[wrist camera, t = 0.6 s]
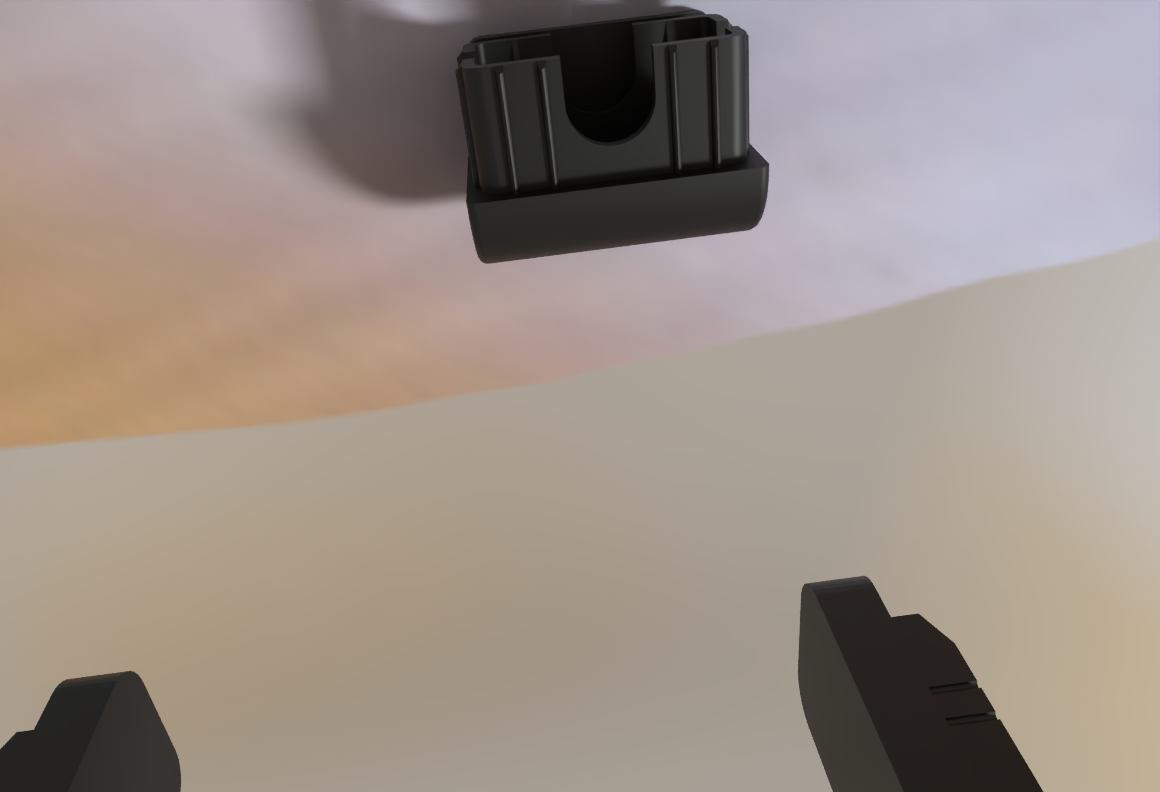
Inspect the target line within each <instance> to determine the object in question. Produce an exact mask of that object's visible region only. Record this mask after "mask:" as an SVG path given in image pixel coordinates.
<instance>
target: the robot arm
mask: <svg viewBox="0 0 1160 792" xmlns="http://www.w3.org/2000/svg"><path fill="white" fill-rule="evenodd" d="M799 636H800V637H799V660H798V680H799V688H800V695H801V701H802V705H803V709H804V713H805V717H806V720H807V723H808V726H809V729H810V731H811V734H812V737H813V739H814V742H815V745H816V747H817V750H818V753H819V755H820V758H821V761H822V764H823V766H824V769H825V771H826V774H827V777H828V780H829V782H830V785H831V788H832V790H833V792H1043V791H1042V789H1041V787H1040V785H1039V784H1038V782H1037V780H1036V779H1035V777H1034V776H1033V774H1032V772H1031V770H1030V769H1029V767H1028V765H1027V764H1026V762H1025V760H1024V759H1023V757H1022V755H1021V754H1020V752H1019V750H1018V749H1017V747H1016V745H1015V743H1014V742H1013V740H1012V738H1011V737H1010V735H1009V733H1008V732H1007V730H1006V728H1005V727H1004V725H1003V723H1002V722H1001V720H1000V719H999V720H997V718H996V715H995V710H994V708H993V707H992V705H991V703H990V702H989V700H988V698H987V697H986V695H985V693H984V692H983V690H982V688H978V685H977V680H976V678H975V677H974V675H973V673H972V672H971V670H970V668H969V666H968V665H967V663H966V661H965V660H964V658H963V656H962V655H961V653H960V651H959V650H958V648H957V647H956V645H955V643H954V642H952V641H951V640H950V639H949V638H948V637H946V636H945V635H944V634H943V633H941V632H940V631H939V630H938V629H937V628H935V627H934V626H933V625H932V624H930V623H929V622H928V621H927V620H926V619H924V618H923V617H922V616H921V615H919V614H912V615H905V616H897V617H890V615H889V613H888V611H887V609H886V607H885V605H884V603H883V602H882V600H881V598H880V596H879V594H878V592H877V590H876V589H875V587H874V585H873V583H872V582H871V581H870V579H869V578H867V577H866V576H860V577H853V578H845V579H837V580H830V581H822V582H815V583H807V584H804V586H803V588H802V592H801V611H800V635H799ZM180 788H181V773H180V764H179V759H178V756H177V753H176V751H175V748H174V746H173V745H172V742H171V740H170V738H169V736H168V734H167V731H166V729H165V727H164V725H163V723H162V722H161V719H160V717H159V715H158V712H157V710H156V708H155V706H154V704H153V702H152V700H151V698H150V696H149V694H148V691H147V689H146V687H145V685H144V683H143V681H142V679H141V678H140V677H139V675H138V674H136V673H135V672H132V671H127V672H120V673H112V674H104V675H97V676H89V677H82V678H75V679H67V680H65V681H63V682H61V683H60V684H59V685H58V686H57V687H56V689H55V690H54V692H53V693H52V695H51V697H50V700H49V701H48V703H47V705H46V707H45V709H44V711H43V713H42V715H41V717H40V719H39V721H38V723H37V725H36V727H35V729H34V730H30V731H23V732H17V733H16V734H15V735H14V736H13V737H12V738H11V739H10V740H9V741H8V742H7V743H6V744H5V745H4V746H3V747H2V748H1V749H0V792H180Z"/></svg>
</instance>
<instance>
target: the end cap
mask: <svg viewBox="0 0 1160 792" xmlns="http://www.w3.org/2000/svg"><path fill="white" fill-rule="evenodd" d="M457 60H458V66H459V67H458V68H457V70H456V77H457V83H458V89H459V96H460V102H461V108H462V114H463V120H464V127H465V133H466V139H467V145H468V151H469V156H468V177H467V199H466V203H467V208H468V214H469V220H470V225H471V230H472V235H473V240H474V244H475V248H476V251H477V254H478V257H479V259H480V260H481V261H482V262H483V263H486V264H490V263H498V262H505V261H513V260H521V259H529V258H536V257H544V256H552V255H560V254H567V253H575V252H583V251H591V250H599V249H606V248H614V247H622V246H630V245H637V244H645V243H653V242H661V241H668V240H676V239H684V238H692V237H699V236H707V235H715V234H723V233H731V232H738V231H746V230H751V229H752V228H754V227H755V226H757V224H758V223H759V221H760V220H761V218H762V215H763V212H764V208H765V204H766V199H767V192H768V181H769V163H768V162H767V161H766V160H765V159H764V158H763V157H762V156H761V155H760V154H759V153H758V152H757V151H756V150H755V149H754V148H753V147H752V146H751V145H750V144H749V46H748V35H747V34H746V31H744V30H743V29H741V28H740V27H738V26H732V25H731V24H730V23H729V22H728V20H727V19H726V18H724V17H722V16H721V15H716V14H705V13H703V12H701V11H695V10H694V11H686V12H677V13H669V14H661V15H653V16H644V17H636V18H628V19H620V20H612V21H603V22H595V23H587V24H579V25H570V26H562V27H554V28H546V29H537V30H529V31H521V32H513V33H505V34H496V35H488V36H480V37H477V38H475V39H473V40H472V41H471V42H470V44H467V45H465V46H464V47H463V51H462V52H461V53H460V55H459V56H458V58H457Z"/></svg>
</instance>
